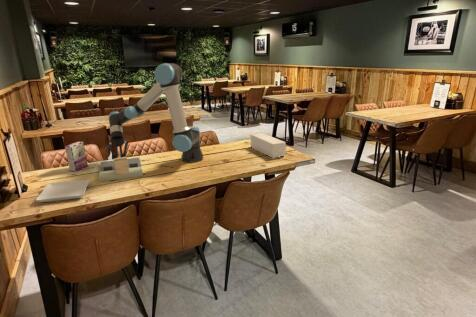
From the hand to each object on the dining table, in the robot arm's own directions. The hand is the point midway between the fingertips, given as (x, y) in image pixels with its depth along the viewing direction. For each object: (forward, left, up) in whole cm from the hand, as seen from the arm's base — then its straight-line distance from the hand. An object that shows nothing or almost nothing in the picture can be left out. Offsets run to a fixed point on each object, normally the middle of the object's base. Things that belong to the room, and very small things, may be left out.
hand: (120, 166), depth 181 cm
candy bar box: (+30, +12, -5) cm, 33 cm away
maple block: (-4, +2, -2) cm, 5 cm away
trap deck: (+5, -3, -5) cm, 7 cm away
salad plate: (-4, +34, -5) cm, 35 cm away
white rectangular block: (-45, -93, -5) cm, 103 cm away
